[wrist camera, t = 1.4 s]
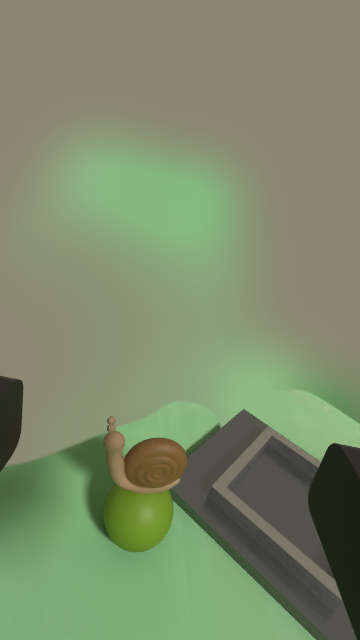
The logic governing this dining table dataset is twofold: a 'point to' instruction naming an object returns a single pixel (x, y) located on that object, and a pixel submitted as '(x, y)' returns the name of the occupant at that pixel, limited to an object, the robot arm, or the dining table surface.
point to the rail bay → (265, 518)
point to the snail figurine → (141, 489)
